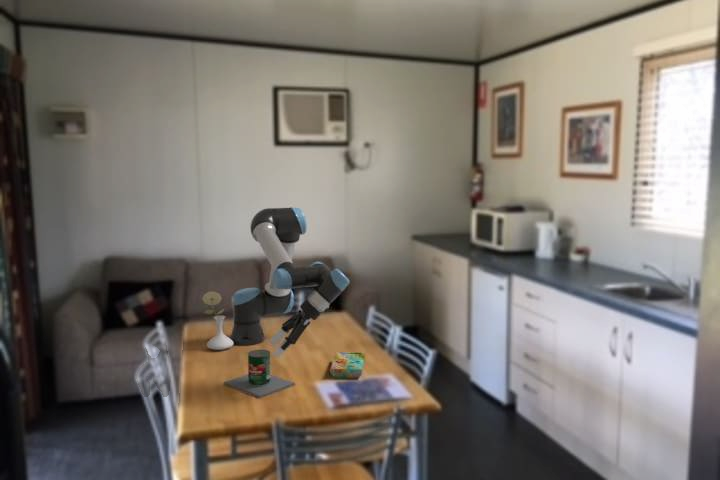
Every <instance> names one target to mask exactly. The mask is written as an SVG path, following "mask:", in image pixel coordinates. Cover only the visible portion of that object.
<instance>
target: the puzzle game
mask: <svg viewBox="0 0 720 480" xmlns="http://www.w3.org/2000/svg"><path fill="white" fill-rule="evenodd" d="M365 359H366V352H350V351H349V352H348V351H347V352H346V351H345V352H344V351H343V352H342V351H341V352H340V351H337V352H335V355H334V357H333V360H332V362H331V366H330V368H329V372H330V374H331V375H332V377H333V378H353V379H355V378H360V377H361V376H362V374H363V370H364V364H365Z"/></svg>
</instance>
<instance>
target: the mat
mask: <svg viewBox="0 0 720 480" xmlns="http://www.w3.org/2000/svg"><path fill="white" fill-rule="evenodd" d="M248 378H249V377H248V374H245V375H242V376H238V377H235V378H232V379H229V380H227V381H224V382H223V384H226V385H225V386H227V385H228V387H230V386H231V387H230V388H232V387H234V388H233V389H235V388H236V389H235V390H237V389H239V390H238V391H240V390H241V391H240V392H243V393H245V392H246V394H248V395H250V394H251V395H250V396H254V397H257V398H259V399H261V398H264V397H267V396H269V395H273V394H275V393H277V392H280V391H283V390H285V389H288V388H290V387H293V386H295V385H296V383H295V381H294V382H293V381H291V380H288V379H285V378H282V377H280V376H279V377H278V376H276V375H273V374H271V383H270V384H268V385H265V386H251V385H249V379H248Z"/></svg>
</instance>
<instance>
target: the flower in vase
mask: <svg viewBox="0 0 720 480" xmlns="http://www.w3.org/2000/svg"><path fill="white" fill-rule="evenodd" d="M222 299H223V298H222V296H221V294H220V292H216V291H213V290H211V291H207V293H205V294H203V296H202V298H201V300H202V302H203V303H204V304H205V305H209V306H211V308H212V309H209V308H208V309H206V310H204V312H203V314H207V315H212V314H213V313H214V314H215V316H213V319H214V321H215V323H216V334H214V336H213V337H212V338H210V339H209V340H208V342H207V343H206V347H207V348H208V349H211V350H216V351H218V350H219V351H221V350H226V349H229V348H231V347H233V346H234V345H235V344H234V343H233V341H232V340H231V339H230V337H228V336H227V335H225V333H224V332H223V322H224V319H225V318H226V316H225V315H220V314H223V313H224V311H225V308H223V309H221V310H219V311H218V312H217V313H216V312H215V311H216V310H214V306H216V305H218V304H221V303H220V302H221V300H222Z"/></svg>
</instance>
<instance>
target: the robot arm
mask: <svg viewBox="0 0 720 480" xmlns="http://www.w3.org/2000/svg"><path fill="white" fill-rule="evenodd" d="M307 228H308V227H307V218H306V216H305V213H304V211H303V209H301V208H300V207H292V206H291V207H274V208H272V207H271V208H270V207H267V208H263V209H261V210H259V211H258V212H257V213H256V214H255V215H254V216H253V218H252V219H251V222H250V233H251V236H252V238H253V240H254V241H255V242H257V243H259V245H260V247H261V249H262V252H264V254H265V256H266V258H267V260H268V262H269V263H270V265H271V267H270V274H269V281H268V282H267V283H266V284H265V285H264V289H263V290H260V289H259V288H258V287H247V288H243V289H239V290H237V291H235V293H233V296H232V297H233V298H232V305H233V306H232V308H233V326H232V329H231V334H230V337H229V338H230V339H231V340H232V341H233V343H234V344H233V345H236V346H237V345H238V346H251V345H258V344H261V343H263V342H264V341H265V333H264V330H263V327H262V325H261V317H266V316H267V317H268V316H276V315H283V314H287V313H289V312H290V311H291V310H292V309H293V306H294V301H295V300H294V298H295V297H294V292H293V290H292V289H298V288H299V289H301V288H309V287H310V288H311V287H316V288H315V289H314V290H313V291H312V292H311V293H310V295H309V296H308V297H307V299H305V300H304V301H303V302H302V303H301V304H300V305H299V308H300V309H298V311H296V313H294V314H293V315H292V316H291V317H289V318H288V319H287V320H286V321H285V322H283V323H282V324H281V328H280V329H279V330H278V331H277V332H276V334H274V335H273V336H272V337H271V338H270V340H269V341H268V343H270V344H271V345H272V346H273V347H276V348H275V349H274V350H273V351H272V355H274V356H275V357H276V358H278V359H279V358H280V357H281V356H282V355H283V354H284V353H285V352H286V351H287V350H288V348H289V347H290V346H291V345H295V344H296V343H297V342H298V340H299V339H300V337H301V336H302V334H303V333H304V332H305V330H306V329H307V327H308V326H309V325H310V324H311V321H310V319H311V320H312V321H316V320H317V319H318V318H319V317H320V316H321V314H322V312H325V310H326V309H329V307H330V305H331V304H332V303H333V302H334V301H335V300H336V299H337V298H338V296H340V295H341V294H342V292H343V291H345V289H346V288H347V286H349V284H350V280H349V278H348V277H347V276H346V275H345V274H344V273H343V272H342V271H341V270H340V269H338V268H335V269H333V270H331V269H330V267H328V265H326V264H324V263H323V262H321V261H315V262H313V263H311V264H310V265H308V266H297V267H296V265H295V264H294V263H293V257H294V250H295V244H296V243H297V242H299V241H300V239H301V238H300V237H301V236H302V235H305V234H306V233H307ZM287 334H289V335H288V336H286V335H287ZM283 338H284V340H283V341H282V339H283ZM280 341H282V342H281V343H280V344H279V345H278V346H277V344H278V343H279V342H280Z"/></svg>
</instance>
